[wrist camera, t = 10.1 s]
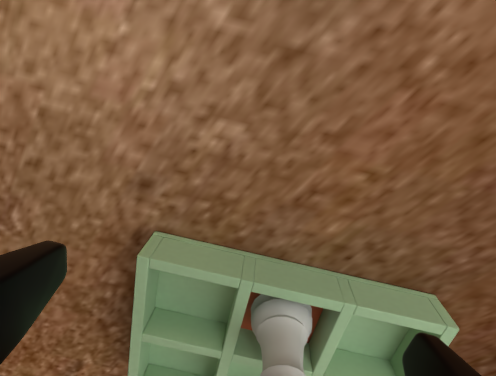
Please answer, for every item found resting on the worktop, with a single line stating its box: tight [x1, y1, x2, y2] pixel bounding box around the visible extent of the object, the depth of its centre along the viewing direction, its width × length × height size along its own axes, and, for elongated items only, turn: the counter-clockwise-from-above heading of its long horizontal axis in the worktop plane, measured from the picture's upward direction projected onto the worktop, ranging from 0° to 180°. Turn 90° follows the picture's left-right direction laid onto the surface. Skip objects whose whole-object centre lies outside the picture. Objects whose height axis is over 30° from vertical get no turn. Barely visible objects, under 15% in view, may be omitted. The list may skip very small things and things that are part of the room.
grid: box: [128, 231, 459, 376], centre depth 22 cm, size 21×14×3 cm
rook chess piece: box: [251, 294, 312, 376], centre depth 18 cm, size 4×4×8 cm
